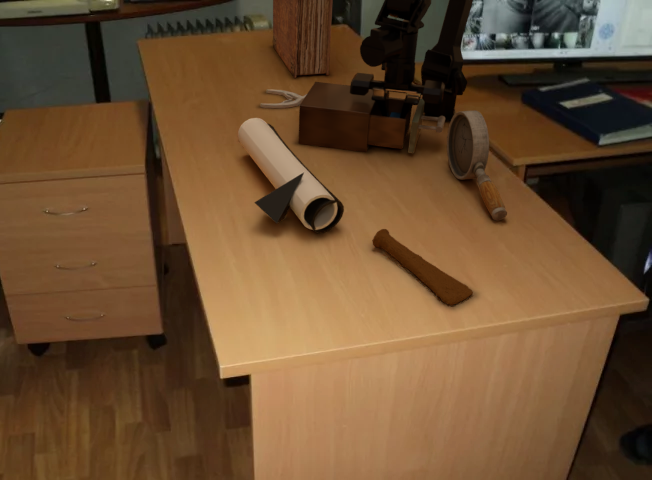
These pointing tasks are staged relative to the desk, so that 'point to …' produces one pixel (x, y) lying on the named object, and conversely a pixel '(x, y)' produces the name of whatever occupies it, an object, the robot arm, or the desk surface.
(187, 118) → the desk surface
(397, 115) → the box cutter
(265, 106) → the pliers
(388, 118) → the drawer
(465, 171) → the magnifying glass
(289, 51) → the book
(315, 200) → the diploma
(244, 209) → the desk surface
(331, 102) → the cabinet
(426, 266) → the primitive tool
